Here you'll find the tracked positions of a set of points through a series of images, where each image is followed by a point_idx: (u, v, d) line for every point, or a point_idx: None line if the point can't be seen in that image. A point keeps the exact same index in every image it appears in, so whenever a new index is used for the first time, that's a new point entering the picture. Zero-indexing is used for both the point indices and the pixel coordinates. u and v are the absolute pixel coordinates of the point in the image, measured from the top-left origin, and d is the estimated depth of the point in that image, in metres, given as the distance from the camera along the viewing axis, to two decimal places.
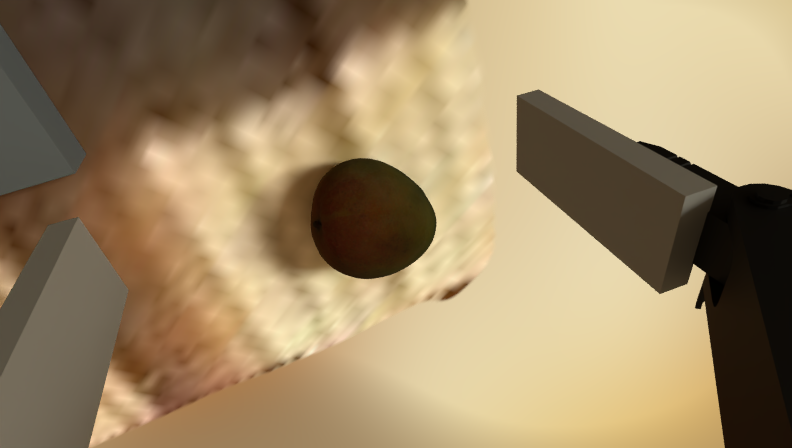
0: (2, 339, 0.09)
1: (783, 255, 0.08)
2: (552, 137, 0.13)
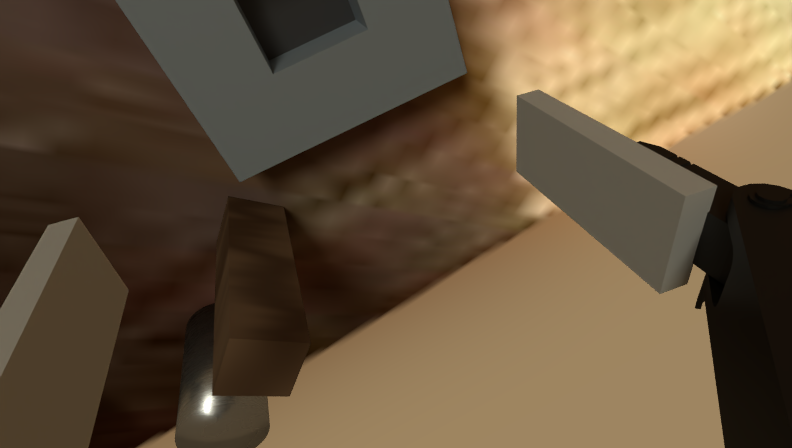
0: (2, 339, 0.09)
1: (783, 255, 0.08)
2: (552, 138, 0.13)
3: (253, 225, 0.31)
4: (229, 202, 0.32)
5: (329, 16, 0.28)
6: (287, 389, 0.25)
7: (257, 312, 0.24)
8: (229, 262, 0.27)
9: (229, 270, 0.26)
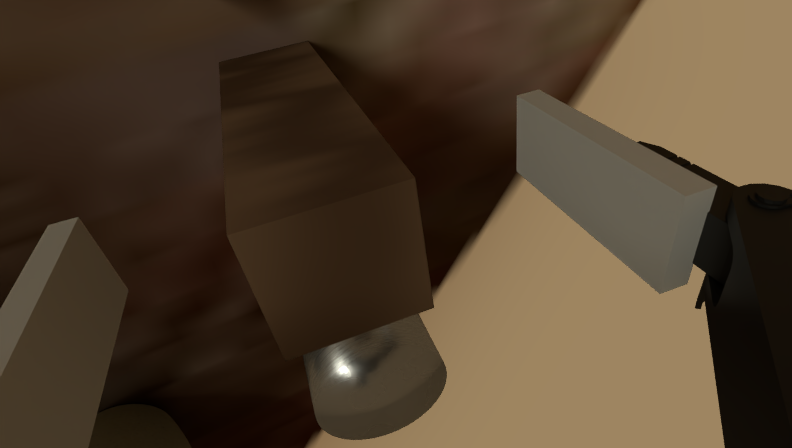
0: (2, 339, 0.09)
1: (783, 255, 0.08)
2: (552, 138, 0.13)
3: (260, 74, 0.18)
4: (220, 66, 0.19)
5: None
6: (423, 295, 0.12)
7: (284, 171, 0.11)
8: (223, 126, 0.14)
9: (224, 136, 0.13)
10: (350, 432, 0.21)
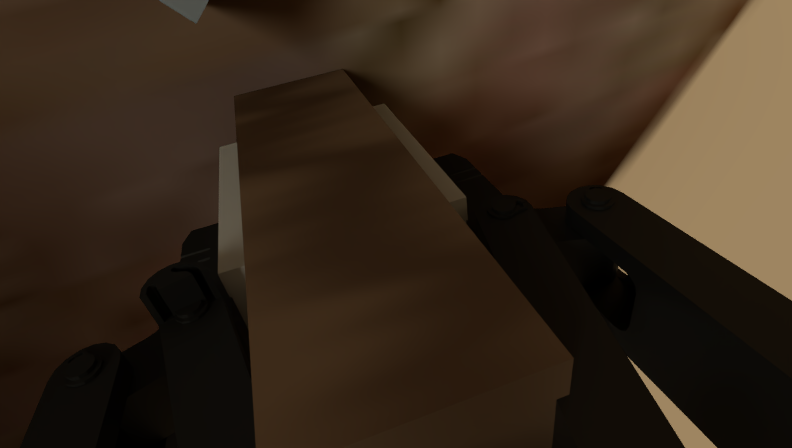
0: (236, 212, 0.11)
1: (526, 261, 0.08)
2: None
3: (288, 118, 0.14)
4: (236, 103, 0.16)
5: None
6: None
7: (342, 316, 0.07)
8: (243, 208, 0.10)
9: (244, 227, 0.09)
10: None
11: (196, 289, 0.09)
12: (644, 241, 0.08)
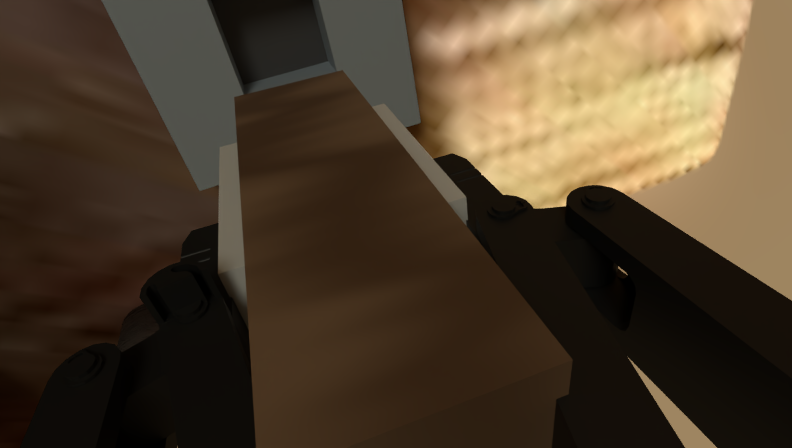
0: (236, 212, 0.11)
1: (525, 261, 0.08)
2: None
3: (288, 119, 0.14)
4: (236, 104, 0.16)
5: (304, 55, 0.31)
6: None
7: (342, 317, 0.07)
8: (243, 209, 0.10)
9: (244, 228, 0.09)
10: None
11: (196, 289, 0.09)
12: (644, 241, 0.08)
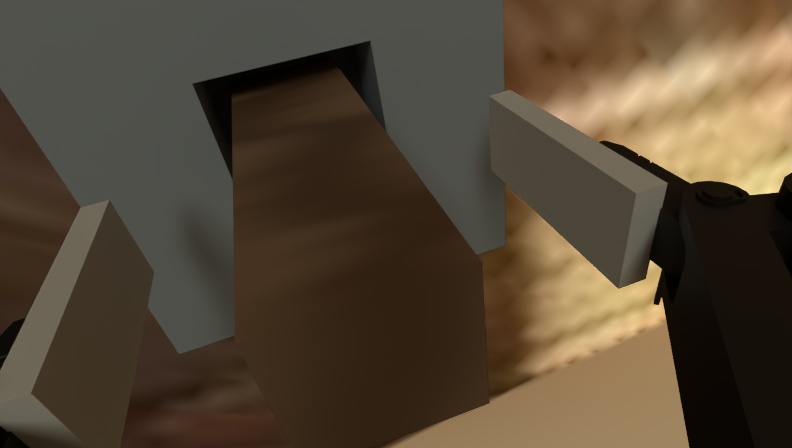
0: (49, 308, 0.09)
1: (731, 250, 0.08)
2: (521, 137, 0.13)
3: (278, 96, 0.15)
4: (233, 85, 0.17)
5: None
6: (477, 391, 0.09)
7: (308, 241, 0.09)
8: (234, 167, 0.12)
9: (234, 181, 0.11)
10: None
11: None
12: None
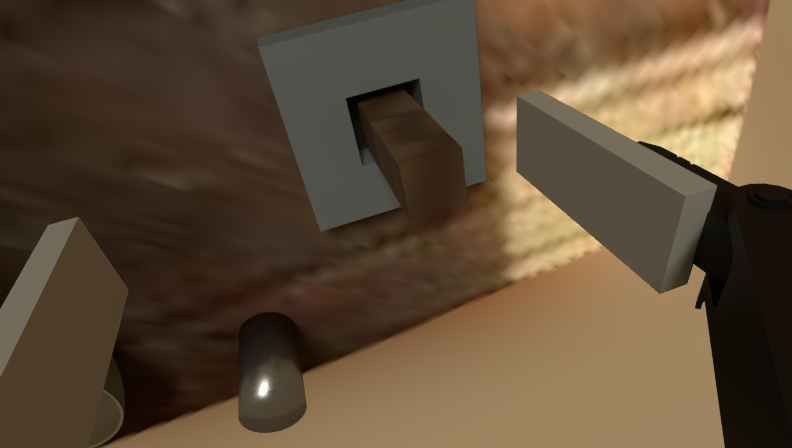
0: (2, 339, 0.09)
1: (783, 255, 0.08)
2: (552, 138, 0.13)
3: (380, 103, 0.36)
4: (355, 98, 0.38)
5: None
6: (463, 196, 0.29)
7: (411, 146, 0.29)
8: (375, 129, 0.32)
9: (377, 133, 0.31)
10: (245, 421, 0.42)
11: None
12: None
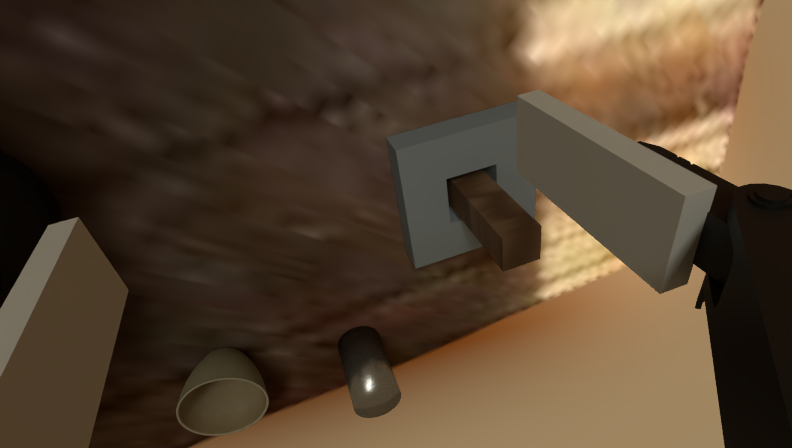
0: (2, 339, 0.09)
1: (783, 255, 0.08)
2: (552, 138, 0.13)
3: (468, 181, 0.51)
4: None
5: None
6: (537, 255, 0.45)
7: (505, 223, 0.44)
8: (473, 206, 0.47)
9: (477, 209, 0.46)
10: (357, 408, 0.56)
11: None
12: None
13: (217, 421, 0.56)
